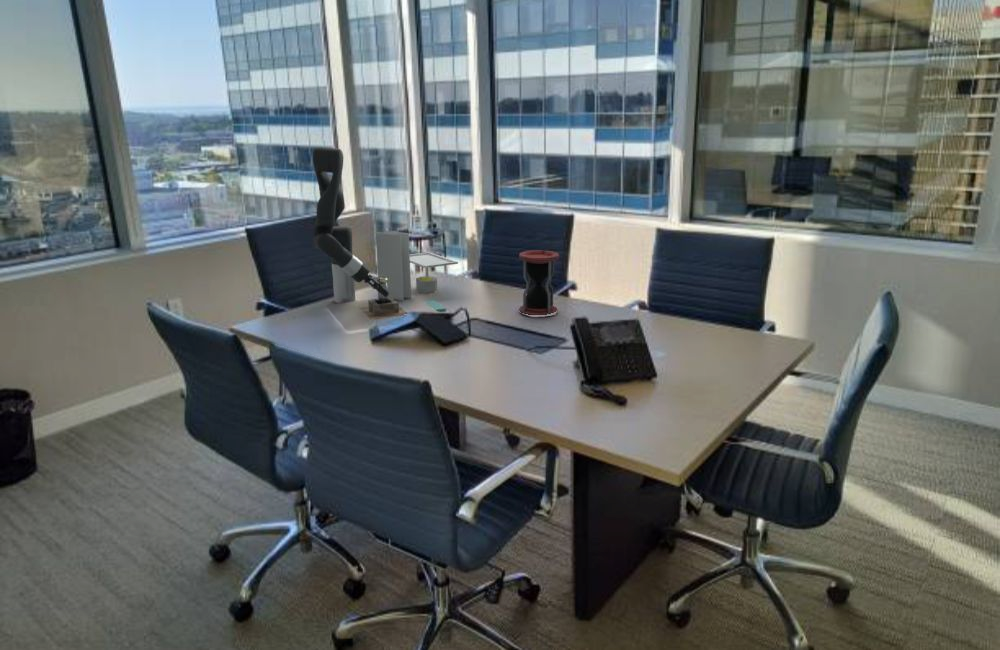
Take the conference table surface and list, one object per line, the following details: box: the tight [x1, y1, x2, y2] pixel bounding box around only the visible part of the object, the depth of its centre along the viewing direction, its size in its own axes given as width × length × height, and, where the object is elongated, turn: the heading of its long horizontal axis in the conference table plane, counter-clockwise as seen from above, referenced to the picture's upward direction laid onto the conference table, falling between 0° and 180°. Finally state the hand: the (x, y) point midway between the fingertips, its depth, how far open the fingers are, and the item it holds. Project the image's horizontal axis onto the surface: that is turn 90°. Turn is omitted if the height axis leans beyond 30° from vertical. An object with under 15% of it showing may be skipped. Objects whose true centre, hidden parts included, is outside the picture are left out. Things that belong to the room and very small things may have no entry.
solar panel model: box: [410, 251, 459, 294], centre depth 322 cm, size 28×17×15 cm, turn 34°
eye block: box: [358, 297, 408, 320], centre depth 286 cm, size 20×16×5 cm
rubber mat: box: [424, 300, 447, 312], centre depth 294 cm, size 14×12×1 cm
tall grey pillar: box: [375, 230, 412, 301], centre depth 304 cm, size 14×6×30 cm, turn 58°
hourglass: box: [518, 249, 560, 315], centre depth 284 cm, size 16×16×25 cm
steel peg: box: [376, 276, 388, 304], centre depth 284 cm, size 4×4×14 cm
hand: (384, 292), depth 284 cm, fingers open, 8 cm apart
